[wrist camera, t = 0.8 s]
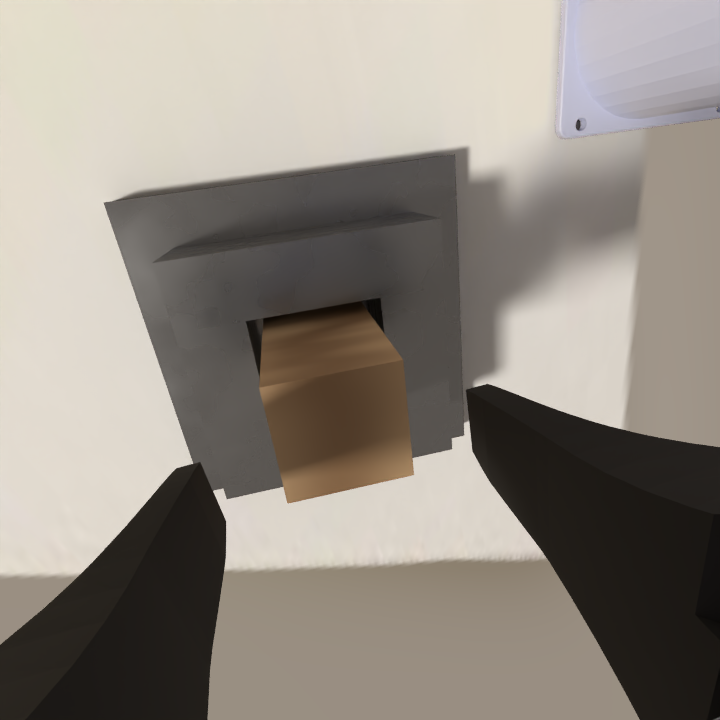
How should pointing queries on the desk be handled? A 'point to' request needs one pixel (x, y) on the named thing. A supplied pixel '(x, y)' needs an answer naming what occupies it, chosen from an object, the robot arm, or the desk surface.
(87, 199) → the desk surface
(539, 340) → the desk surface
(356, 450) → the oak post
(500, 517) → the desk surface
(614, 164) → the desk surface
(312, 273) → the metal sleeve
